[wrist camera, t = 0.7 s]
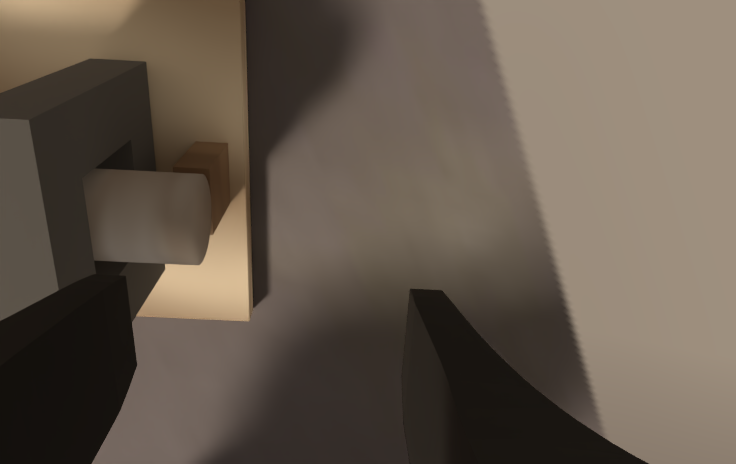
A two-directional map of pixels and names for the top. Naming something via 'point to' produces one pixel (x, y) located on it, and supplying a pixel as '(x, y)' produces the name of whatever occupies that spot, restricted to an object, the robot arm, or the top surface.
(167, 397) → the top surface
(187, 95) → the pipe stand
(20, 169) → the collar
